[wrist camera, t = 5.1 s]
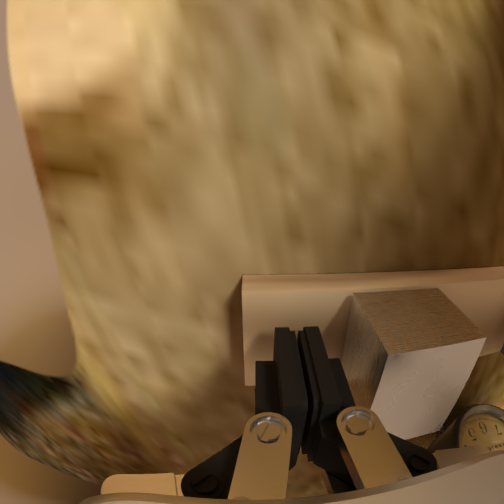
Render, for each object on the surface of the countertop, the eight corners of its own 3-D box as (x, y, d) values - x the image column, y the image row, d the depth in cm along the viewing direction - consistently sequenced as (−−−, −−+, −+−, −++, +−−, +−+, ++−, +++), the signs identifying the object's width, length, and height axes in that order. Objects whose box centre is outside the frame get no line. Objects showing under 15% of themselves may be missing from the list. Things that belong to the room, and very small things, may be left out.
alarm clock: (506, 391, 17) (583, 520, 2) (471, 433, 19) (529, 559, 4) (426, 392, 16) (513, 595, 1) (384, 441, 18) (436, 622, 3)
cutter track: (242, 274, 13) (238, 339, 9) (523, 265, 13) (570, 298, 9) (245, 365, 15) (243, 436, 11) (499, 335, 15) (536, 375, 11)
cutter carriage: (353, 293, 11) (388, 354, 8) (448, 286, 11) (497, 334, 8) (336, 385, 13) (354, 449, 10) (419, 374, 13) (449, 427, 10)
